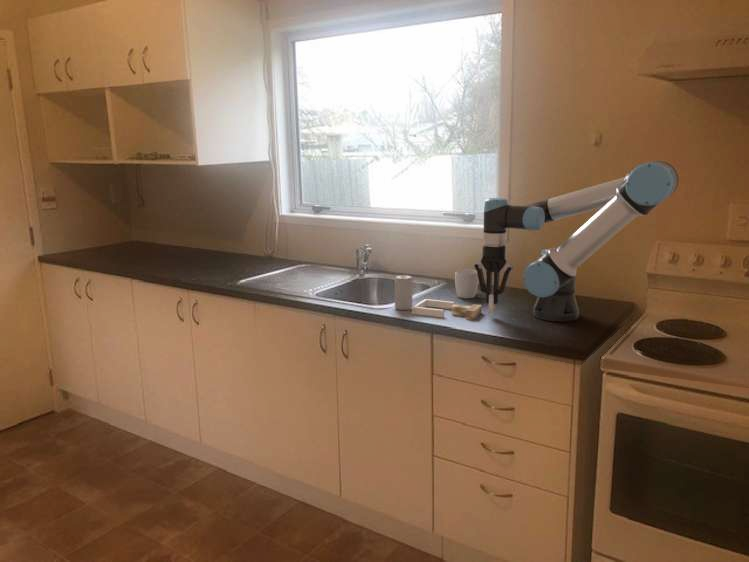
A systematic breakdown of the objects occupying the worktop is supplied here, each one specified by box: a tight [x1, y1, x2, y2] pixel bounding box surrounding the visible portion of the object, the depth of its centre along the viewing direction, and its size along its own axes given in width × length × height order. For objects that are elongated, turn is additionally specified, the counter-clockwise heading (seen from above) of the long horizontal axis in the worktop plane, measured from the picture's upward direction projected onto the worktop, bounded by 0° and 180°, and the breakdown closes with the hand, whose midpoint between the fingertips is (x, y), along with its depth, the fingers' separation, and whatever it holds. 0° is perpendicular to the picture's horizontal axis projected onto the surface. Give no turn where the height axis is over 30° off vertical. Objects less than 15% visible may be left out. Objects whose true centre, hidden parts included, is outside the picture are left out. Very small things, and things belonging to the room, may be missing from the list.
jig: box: [411, 298, 456, 318], centre depth 222 cm, size 12×12×2 cm
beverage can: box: [394, 274, 414, 312], centre depth 225 cm, size 6×6×12 cm
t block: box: [451, 303, 483, 321], centre depth 217 cm, size 9×9×3 cm
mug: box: [454, 268, 479, 299], centre depth 243 cm, size 13×9×10 cm
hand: (491, 312), depth 213 cm, fingers closed
